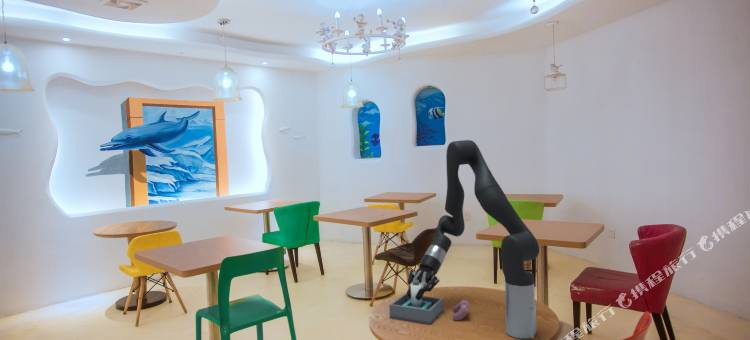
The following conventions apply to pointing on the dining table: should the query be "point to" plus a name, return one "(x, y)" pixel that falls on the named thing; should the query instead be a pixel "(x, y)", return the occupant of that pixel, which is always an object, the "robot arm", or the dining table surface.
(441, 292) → the dining table surface
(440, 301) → the walled box
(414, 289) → the plug
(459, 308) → the video game controller
